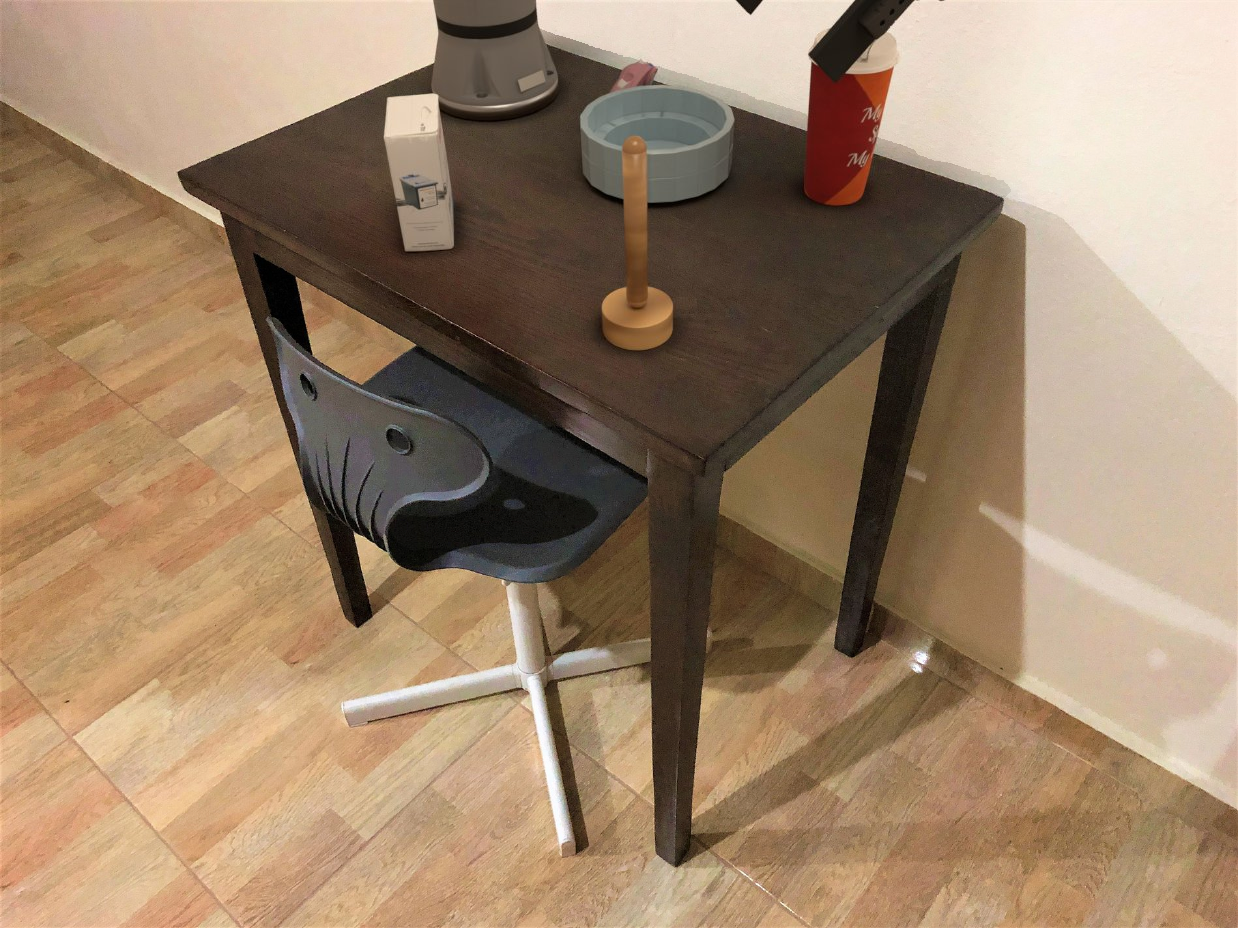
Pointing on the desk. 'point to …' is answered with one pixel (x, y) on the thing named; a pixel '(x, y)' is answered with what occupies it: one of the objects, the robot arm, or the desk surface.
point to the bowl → (659, 140)
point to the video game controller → (635, 76)
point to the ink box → (419, 172)
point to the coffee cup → (846, 123)
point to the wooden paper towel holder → (636, 267)
